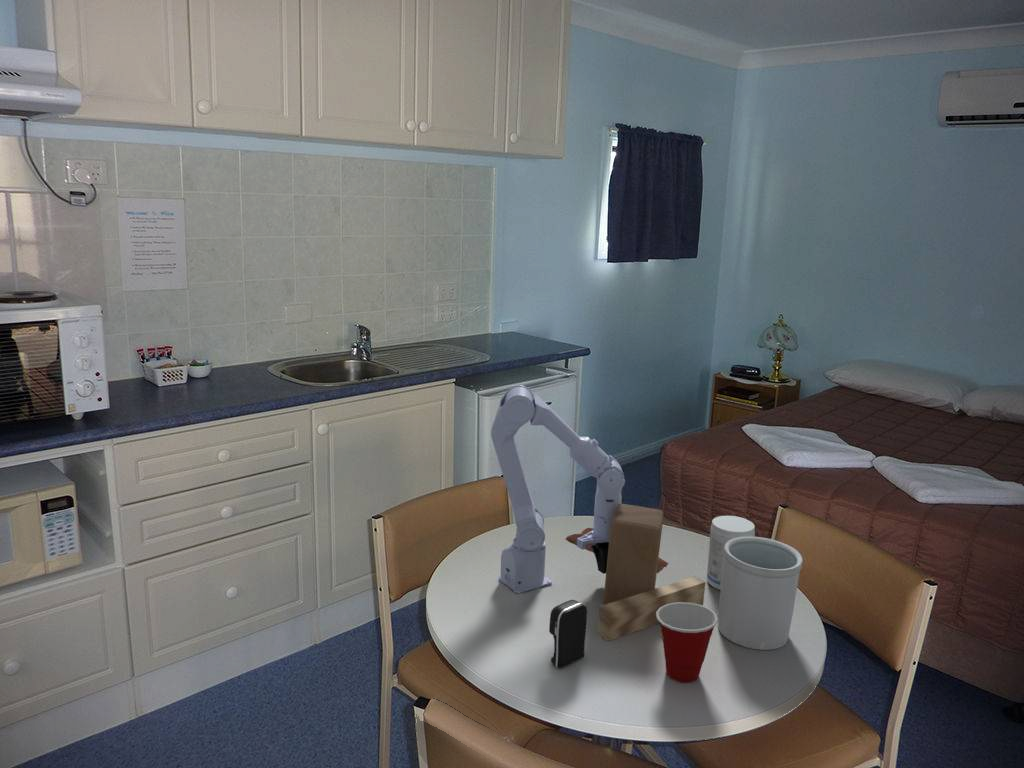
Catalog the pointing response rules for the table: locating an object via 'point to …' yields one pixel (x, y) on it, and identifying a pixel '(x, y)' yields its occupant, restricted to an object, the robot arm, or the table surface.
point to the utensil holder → (758, 592)
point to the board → (646, 607)
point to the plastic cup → (685, 638)
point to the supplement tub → (719, 536)
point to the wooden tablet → (574, 540)
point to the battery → (568, 632)
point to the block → (632, 552)
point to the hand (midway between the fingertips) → (603, 571)
